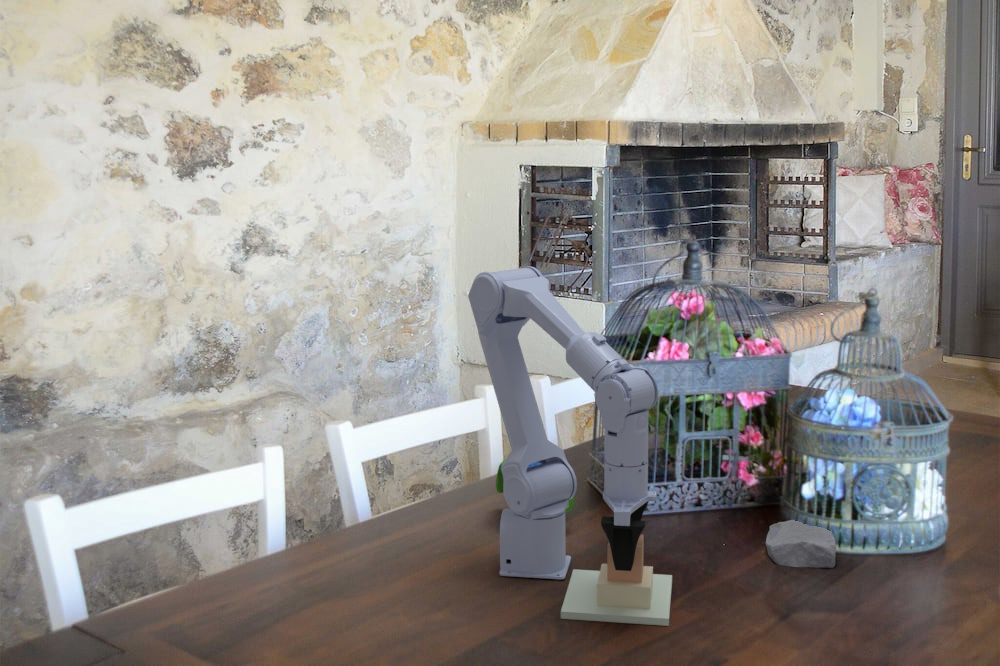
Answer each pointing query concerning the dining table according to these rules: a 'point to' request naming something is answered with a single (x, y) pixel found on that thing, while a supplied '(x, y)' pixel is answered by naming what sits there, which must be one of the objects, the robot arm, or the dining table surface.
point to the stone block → (801, 545)
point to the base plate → (592, 612)
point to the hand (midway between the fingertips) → (625, 558)
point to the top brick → (637, 567)
